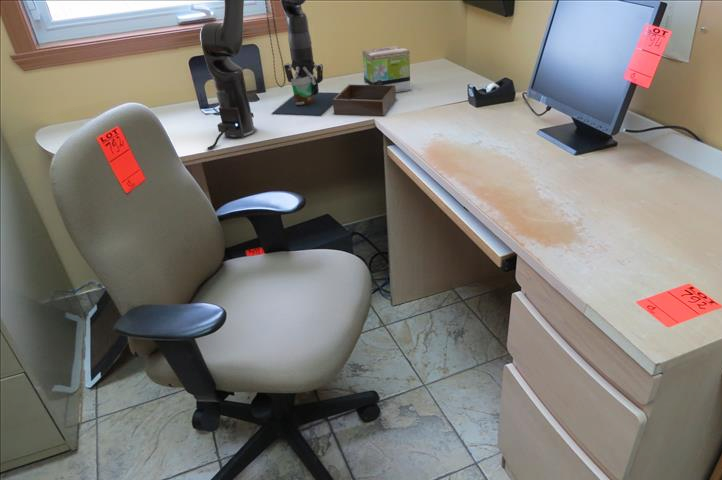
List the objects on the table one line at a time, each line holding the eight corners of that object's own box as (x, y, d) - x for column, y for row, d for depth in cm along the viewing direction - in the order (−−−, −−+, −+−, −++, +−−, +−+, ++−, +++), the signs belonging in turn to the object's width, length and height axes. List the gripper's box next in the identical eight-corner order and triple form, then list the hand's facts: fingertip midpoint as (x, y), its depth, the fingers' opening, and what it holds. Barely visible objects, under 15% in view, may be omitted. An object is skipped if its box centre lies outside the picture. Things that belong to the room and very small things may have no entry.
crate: (383, 116, 187) (382, 101, 184) (334, 114, 191) (332, 99, 188) (396, 99, 201) (395, 85, 198) (349, 98, 205) (348, 84, 202)
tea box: (374, 97, 204) (371, 55, 196) (364, 90, 212) (361, 49, 204) (411, 90, 209) (409, 49, 201) (400, 83, 217) (398, 44, 208)
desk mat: (320, 115, 190) (320, 114, 190) (272, 114, 194) (272, 112, 194) (342, 94, 209) (342, 93, 209) (298, 92, 213) (298, 91, 213)
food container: (311, 108, 196) (307, 79, 190) (294, 108, 197) (290, 79, 192) (322, 97, 206) (318, 69, 200) (306, 97, 207) (302, 69, 201)
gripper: (276, 47, 189) (284, 96, 198) (316, 48, 186) (322, 98, 195) (285, 42, 195) (292, 90, 204) (323, 42, 192) (329, 91, 201)
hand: (307, 93), depth 200 cm, fingers closed on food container, 6 cm apart
